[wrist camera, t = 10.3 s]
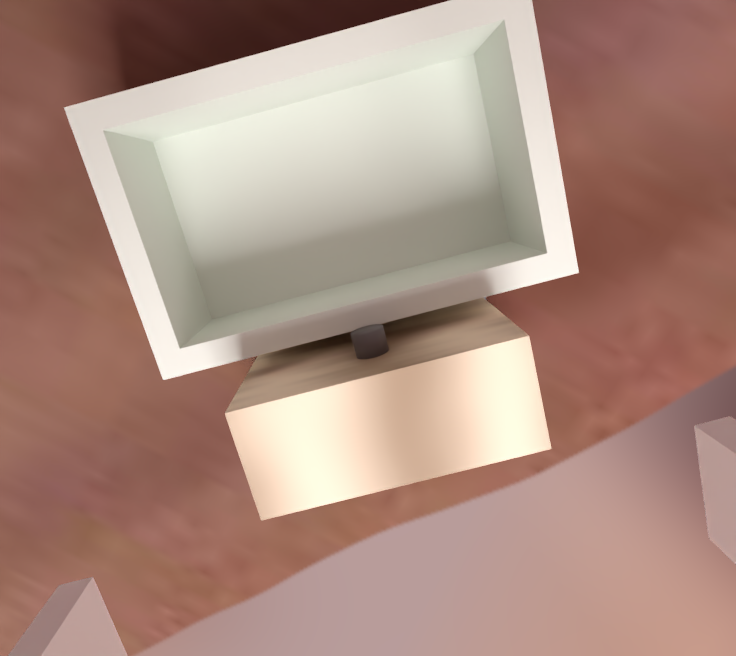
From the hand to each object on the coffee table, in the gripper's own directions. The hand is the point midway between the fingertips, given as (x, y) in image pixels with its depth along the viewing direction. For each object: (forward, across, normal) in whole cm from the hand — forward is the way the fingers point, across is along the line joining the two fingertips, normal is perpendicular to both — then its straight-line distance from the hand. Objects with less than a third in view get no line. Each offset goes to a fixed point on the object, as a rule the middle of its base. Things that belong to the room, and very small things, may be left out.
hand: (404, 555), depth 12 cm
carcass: (+16, 0, +4) cm, 17 cm away
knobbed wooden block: (+16, 0, 0) cm, 16 cm away
